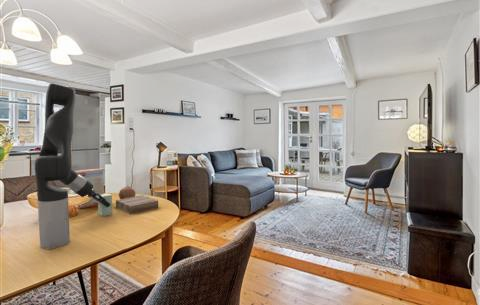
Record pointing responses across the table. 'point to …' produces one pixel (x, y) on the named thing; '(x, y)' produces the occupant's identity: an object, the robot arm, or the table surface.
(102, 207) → the sage block
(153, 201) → the walnut base
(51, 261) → the table surface
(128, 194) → the onion
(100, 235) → the table surface
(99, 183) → the cracker box
